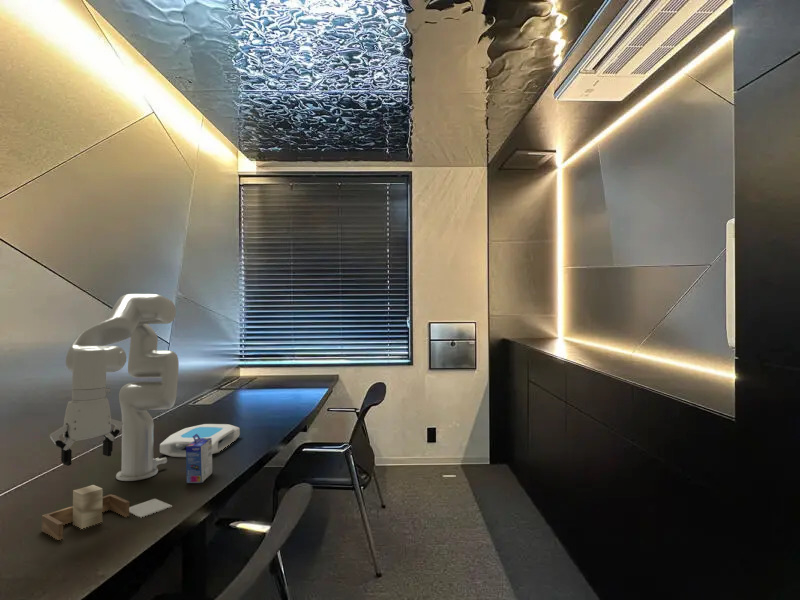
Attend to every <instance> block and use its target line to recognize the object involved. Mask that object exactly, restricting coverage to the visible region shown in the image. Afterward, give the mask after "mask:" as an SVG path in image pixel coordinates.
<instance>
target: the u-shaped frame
mask: <svg viewBox="0 0 800 600" xmlns="http://www.w3.org/2000/svg"><path fill="white" fill-rule="evenodd" d="M129 507H130V501H129V500H128V499H124V498H122V497H121V496H118V495H115V494H113V493H111V494H107V495H105V496H103V506H102V512H103V513H105V511H106V512H108V510H109V511H110V510H111V512H113V511H114V512H113V513H115V512H116V514H117V513H118V514H117V515H119V514H120V515H119V516H121V515H122V516H121V517H123V516H124V518H128V517H130V513H129ZM127 516H128V517H127ZM71 522H73V505H72V506H68V507H65V508H62V509H58V510H56V511H55V510H54V511H52V512H49V513H45V514H42V515H41V532H43V533H44V534H45V535H47V534H48V535H47V536H49V535H50V536H49V537H51V536H52V537H53V539H54V538H55V539H54V540H56V539H57V540H60V541H62V540H61V539H63V540H64V526H66V525H65V524H67V525H69V524H68V523H70V524H72V523H71ZM63 525H64V526H63ZM52 537H51V538H52ZM57 540H56V541H57Z"/></svg>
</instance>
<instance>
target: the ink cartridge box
mask: <svg viewBox="0 0 800 600" xmlns="http://www.w3.org/2000/svg"><path fill="white" fill-rule="evenodd" d="M195 437H198V438H197V439H195ZM193 439H194V441H193V442H192V443H190V444H189V445H188V446H186V447H185V450H186V457H185V466H186V467H185V468H186V469H185V471H186V473H185V474H186V484H202V483H204V481H205V480H206V479H208V478H209V477H210V476H211V475H212V474H213V454H212V438H200V437H199V436H198V434H196V435H194V436H193Z"/></svg>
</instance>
